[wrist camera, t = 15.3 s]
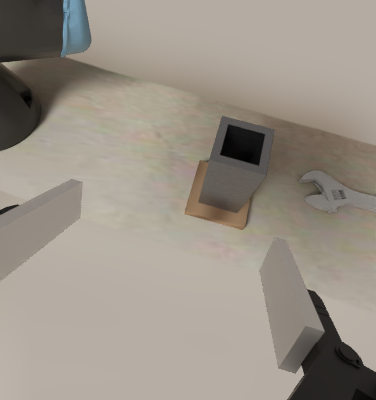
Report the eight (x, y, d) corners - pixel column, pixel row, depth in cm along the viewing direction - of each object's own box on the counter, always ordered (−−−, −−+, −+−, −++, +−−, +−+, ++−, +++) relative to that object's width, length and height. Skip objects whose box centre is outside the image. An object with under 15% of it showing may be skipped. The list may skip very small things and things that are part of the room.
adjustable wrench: (450, 219, 39) (462, 216, 38) (453, 257, 37) (466, 255, 35) (301, 171, 41) (306, 165, 39) (295, 203, 39) (300, 199, 37)
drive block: (184, 215, 37) (186, 199, 31) (198, 166, 41) (202, 144, 35) (241, 230, 37) (253, 217, 31) (250, 180, 40) (263, 160, 34)
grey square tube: (198, 202, 36) (209, 159, 25) (207, 168, 38) (222, 115, 27) (237, 213, 36) (266, 175, 24) (244, 178, 38) (274, 129, 27)
